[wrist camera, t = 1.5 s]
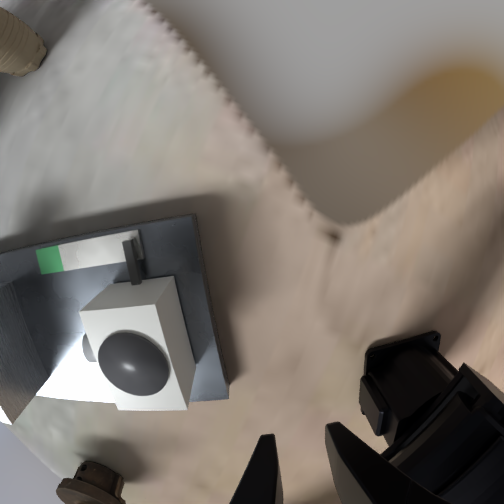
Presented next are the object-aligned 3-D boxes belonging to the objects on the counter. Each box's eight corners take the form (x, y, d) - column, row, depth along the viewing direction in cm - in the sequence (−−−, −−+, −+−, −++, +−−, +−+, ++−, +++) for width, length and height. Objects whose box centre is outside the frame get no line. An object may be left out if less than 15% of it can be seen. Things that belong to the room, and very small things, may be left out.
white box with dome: (165, 232, 16) (140, 250, 12) (196, 367, 18) (187, 412, 13) (79, 247, 16) (39, 267, 11) (117, 371, 18) (95, 410, 13)
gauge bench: (195, 213, 17) (163, 237, 10) (229, 385, 20) (226, 467, 13) (-9, 255, 17) (-74, 283, 10) (38, 385, 20) (-2, 436, 12)
